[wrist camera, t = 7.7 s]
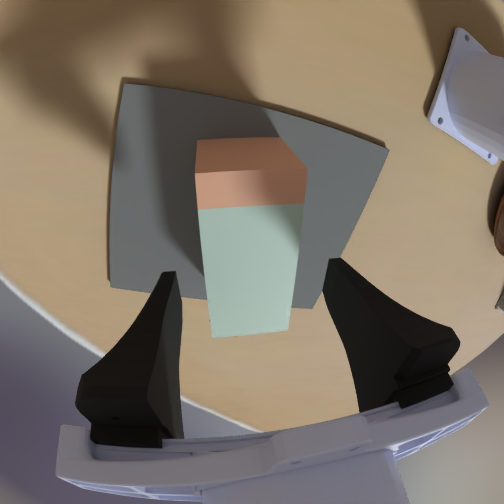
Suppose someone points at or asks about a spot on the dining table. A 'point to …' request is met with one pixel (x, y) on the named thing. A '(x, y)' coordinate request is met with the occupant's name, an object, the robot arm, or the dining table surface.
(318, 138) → the rubber mat
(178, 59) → the dining table surface
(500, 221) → the cup and saucer
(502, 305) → the skyscraper
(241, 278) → the green and orange block
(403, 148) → the dining table surface
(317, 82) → the dining table surface
